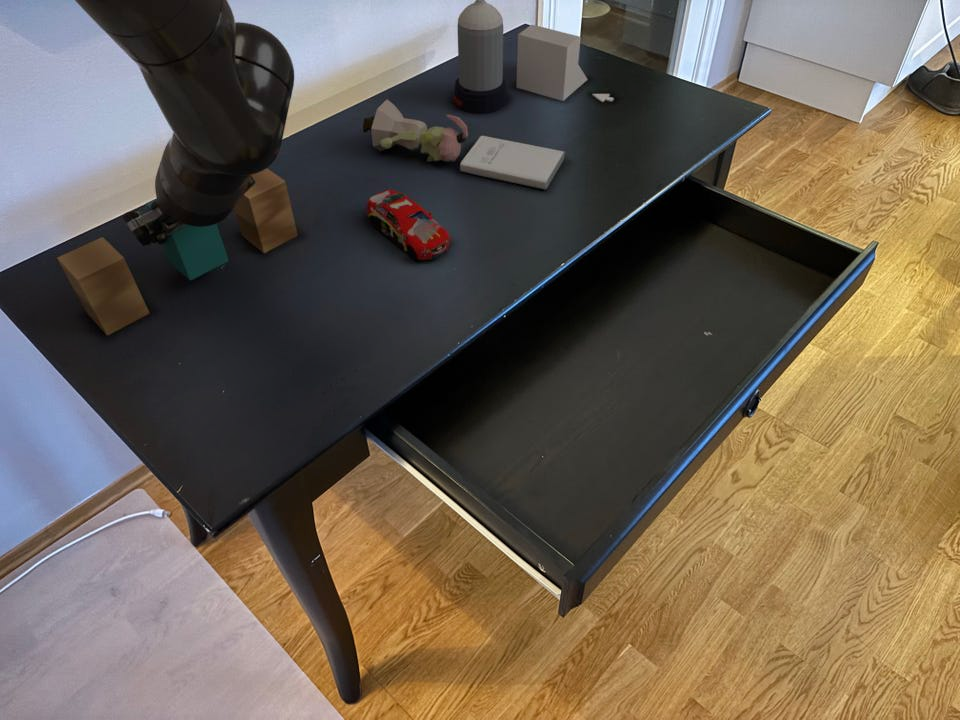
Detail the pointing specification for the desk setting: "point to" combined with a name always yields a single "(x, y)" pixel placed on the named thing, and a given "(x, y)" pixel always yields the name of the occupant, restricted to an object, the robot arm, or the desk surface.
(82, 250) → the block left
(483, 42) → the humidifier
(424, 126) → the figurine
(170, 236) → the teal block
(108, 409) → the desk surface
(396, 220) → the race car
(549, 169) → the hard drive
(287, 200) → the block right
